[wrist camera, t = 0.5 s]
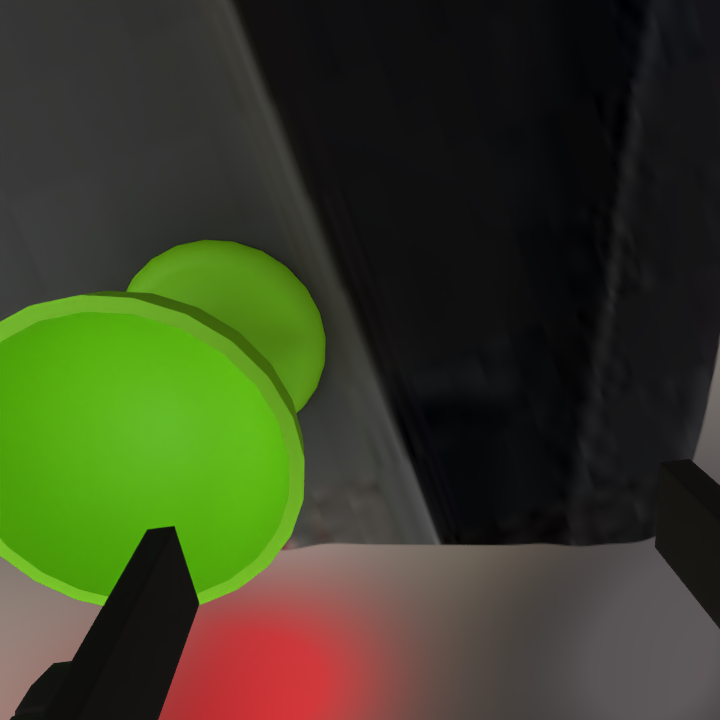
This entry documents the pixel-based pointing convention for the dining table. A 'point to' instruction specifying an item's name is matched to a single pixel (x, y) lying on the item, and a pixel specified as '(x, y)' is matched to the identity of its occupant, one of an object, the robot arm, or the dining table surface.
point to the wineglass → (158, 420)
